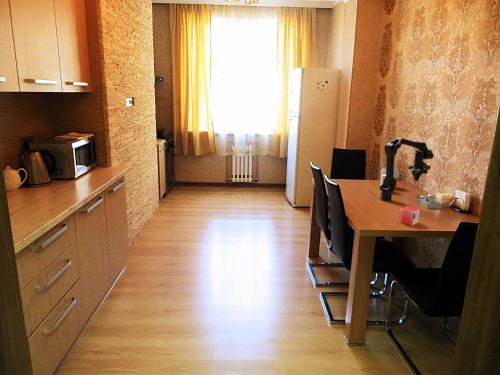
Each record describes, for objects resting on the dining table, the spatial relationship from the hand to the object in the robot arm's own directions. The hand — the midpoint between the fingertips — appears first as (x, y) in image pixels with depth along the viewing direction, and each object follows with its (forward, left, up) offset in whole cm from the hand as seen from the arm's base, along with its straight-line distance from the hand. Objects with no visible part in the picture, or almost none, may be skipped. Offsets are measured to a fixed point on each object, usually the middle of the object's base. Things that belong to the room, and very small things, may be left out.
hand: (416, 181), depth 262 cm
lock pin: (0, -11, -11) cm, 16 cm away
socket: (0, -23, -12) cm, 26 cm away
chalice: (-6, +35, -12) cm, 37 cm away
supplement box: (-14, +20, -12) cm, 27 cm away
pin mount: (0, -15, -12) cm, 19 cm away
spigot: (0, -24, -12) cm, 27 cm away
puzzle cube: (-29, -58, -12) cm, 66 cm away
